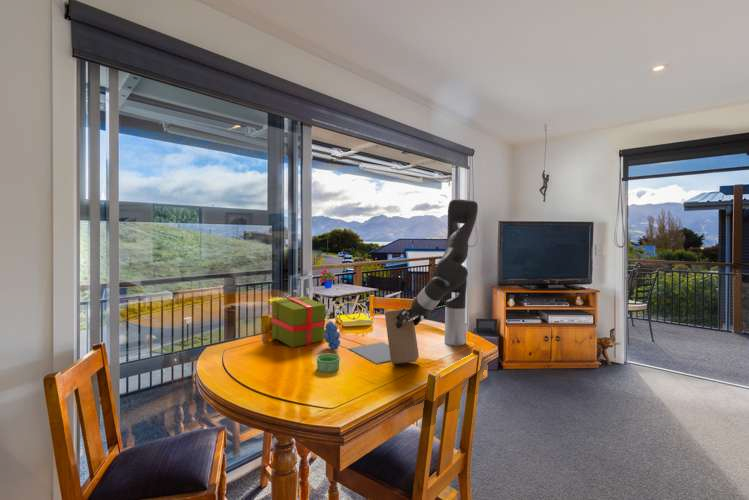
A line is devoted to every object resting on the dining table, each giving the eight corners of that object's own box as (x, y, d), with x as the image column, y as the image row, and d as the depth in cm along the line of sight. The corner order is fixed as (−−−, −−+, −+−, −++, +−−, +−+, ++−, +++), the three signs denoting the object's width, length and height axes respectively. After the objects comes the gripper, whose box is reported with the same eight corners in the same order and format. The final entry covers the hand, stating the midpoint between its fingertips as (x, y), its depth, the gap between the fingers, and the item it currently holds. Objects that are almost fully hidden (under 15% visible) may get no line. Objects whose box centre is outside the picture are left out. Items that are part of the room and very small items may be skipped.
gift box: (323, 348, 174) (294, 333, 192) (332, 304, 175) (303, 294, 192) (285, 349, 160) (258, 333, 177) (295, 302, 160) (267, 290, 178)
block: (416, 362, 138) (409, 308, 141) (390, 364, 140) (383, 311, 143) (419, 358, 148) (412, 307, 151) (394, 360, 149) (388, 310, 153)
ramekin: (320, 374, 133) (320, 362, 133) (312, 366, 141) (313, 355, 141) (343, 370, 138) (343, 359, 137) (334, 363, 146) (334, 352, 145)
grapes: (317, 347, 165) (317, 320, 164) (330, 344, 169) (330, 318, 168) (329, 354, 155) (330, 326, 155) (343, 351, 159) (343, 324, 159)
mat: (382, 342, 173) (382, 342, 173) (412, 356, 154) (412, 355, 154) (348, 349, 163) (348, 348, 163) (376, 364, 144) (376, 363, 144)
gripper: (436, 290, 139) (415, 314, 149) (406, 293, 131) (387, 319, 141) (446, 307, 135) (424, 330, 145) (416, 311, 127) (395, 336, 137)
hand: (406, 325), depth 143 cm, fingers open, 8 cm apart
